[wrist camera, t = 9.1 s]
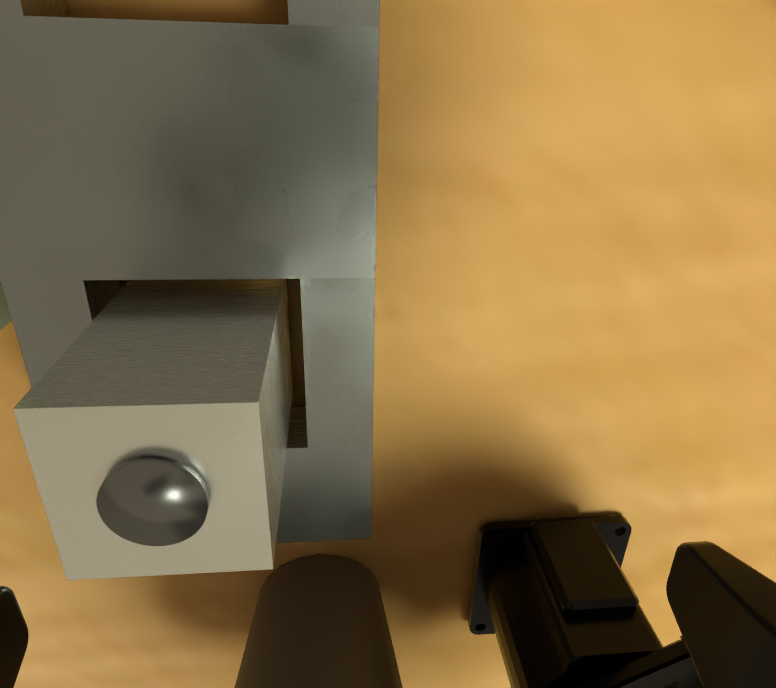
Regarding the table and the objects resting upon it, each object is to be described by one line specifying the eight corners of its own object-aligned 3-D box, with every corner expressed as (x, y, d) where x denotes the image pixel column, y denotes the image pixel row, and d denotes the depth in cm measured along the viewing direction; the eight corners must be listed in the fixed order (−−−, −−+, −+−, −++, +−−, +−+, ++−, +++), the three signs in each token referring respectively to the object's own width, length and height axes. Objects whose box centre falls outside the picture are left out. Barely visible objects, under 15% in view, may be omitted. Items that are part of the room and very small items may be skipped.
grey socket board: (366, 491, 23) (371, 538, 21) (105, 502, 22) (80, 552, 20) (378, -542, 11) (390, -691, 9) (-177, -613, 10) (-317, -800, 8)
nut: (292, 391, 20) (272, 579, 13) (160, 394, 20) (61, 591, 13) (285, 268, 18) (256, 410, 11) (138, 270, 18) (5, 417, 11)
